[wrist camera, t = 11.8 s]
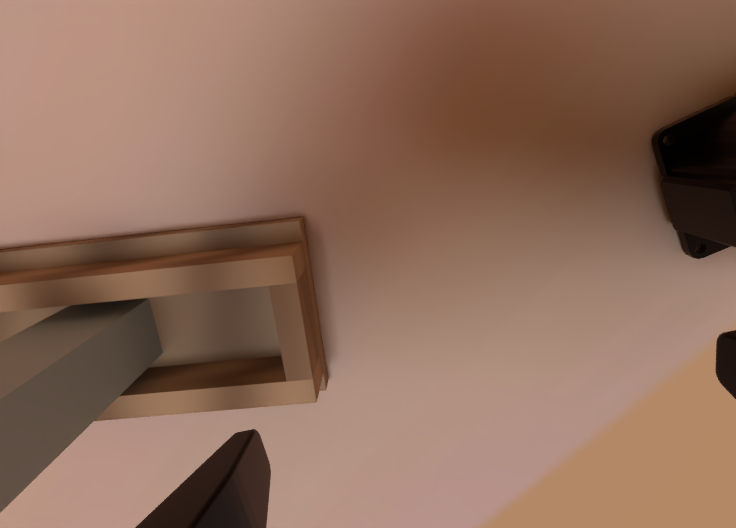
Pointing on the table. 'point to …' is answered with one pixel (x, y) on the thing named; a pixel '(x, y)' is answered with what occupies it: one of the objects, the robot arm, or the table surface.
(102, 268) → the open rectangular wooden box
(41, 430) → the tall grey pillar block
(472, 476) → the table surface
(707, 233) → the robot arm
